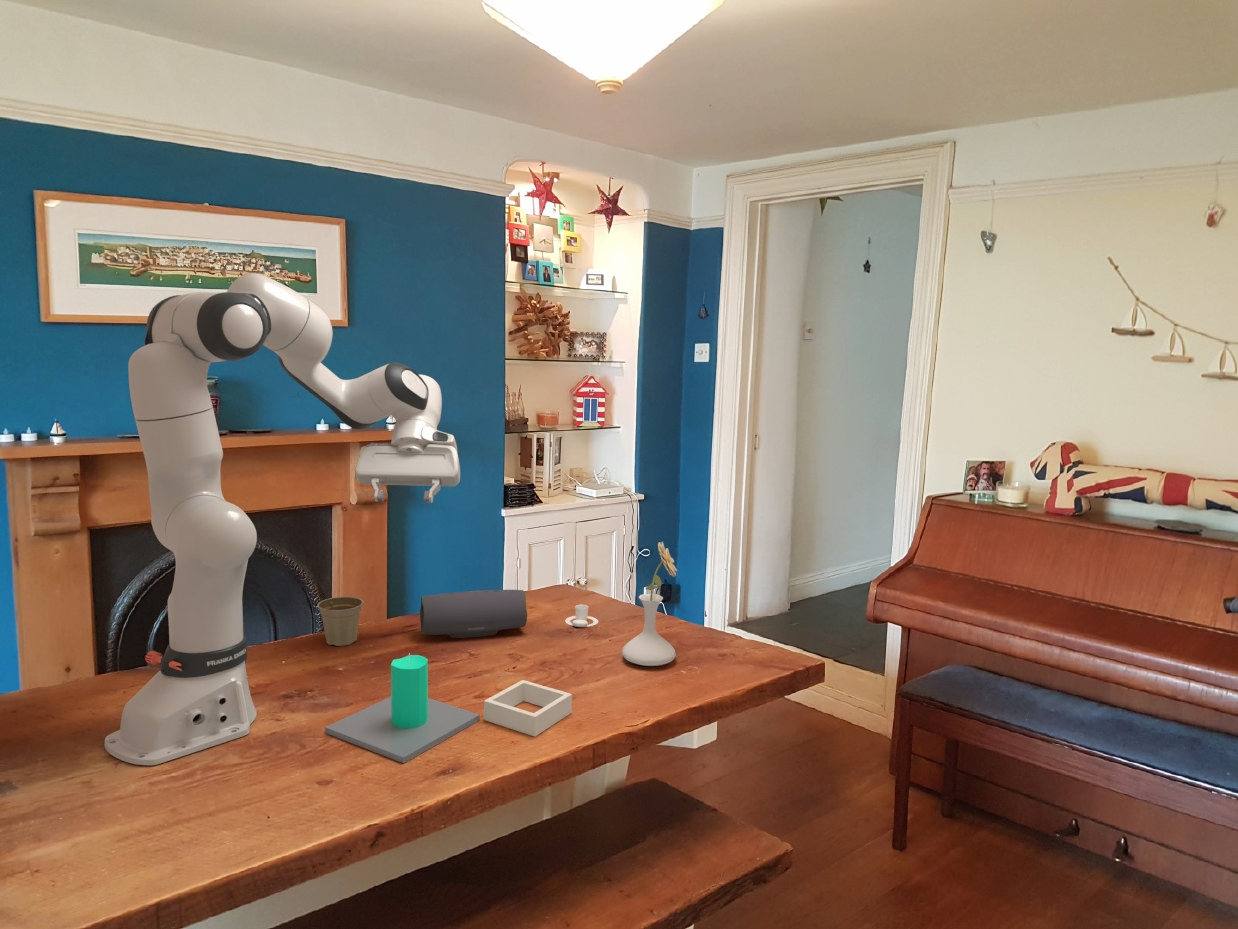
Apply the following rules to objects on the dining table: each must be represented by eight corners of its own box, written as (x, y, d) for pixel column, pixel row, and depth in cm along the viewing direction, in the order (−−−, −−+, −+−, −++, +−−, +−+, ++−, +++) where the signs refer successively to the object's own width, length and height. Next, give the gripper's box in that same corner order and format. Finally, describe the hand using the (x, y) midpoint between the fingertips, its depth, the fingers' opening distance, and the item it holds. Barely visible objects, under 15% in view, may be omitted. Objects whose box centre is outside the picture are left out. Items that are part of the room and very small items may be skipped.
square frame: (534, 736, 137) (535, 717, 136) (483, 720, 142) (484, 700, 142) (571, 712, 146) (572, 694, 146) (522, 697, 152) (522, 679, 151)
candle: (427, 711, 143) (426, 645, 141) (428, 726, 137) (428, 658, 135) (391, 714, 141) (390, 647, 139) (391, 730, 135) (390, 661, 134)
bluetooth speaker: (519, 623, 192) (519, 582, 191) (527, 637, 183) (528, 594, 182) (419, 631, 185) (419, 588, 183) (423, 646, 176) (423, 601, 175)
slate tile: (403, 763, 127) (403, 757, 127) (325, 732, 136) (324, 727, 136) (479, 720, 142) (479, 714, 142) (404, 695, 151) (404, 690, 151)
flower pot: (334, 653, 170) (334, 613, 169) (309, 642, 176) (308, 603, 175) (372, 641, 178) (372, 602, 177) (347, 631, 184) (346, 593, 182)
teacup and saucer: (583, 632, 189) (584, 615, 188) (556, 625, 193) (556, 608, 192) (604, 622, 196) (605, 605, 195) (577, 615, 200) (578, 599, 200)
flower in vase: (659, 675, 164) (664, 554, 160) (611, 662, 170) (614, 545, 166) (688, 656, 175) (693, 542, 171) (642, 644, 181) (646, 534, 177)
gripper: (358, 433, 163) (345, 490, 155) (461, 435, 164) (453, 492, 156) (365, 452, 168) (352, 508, 160) (464, 454, 169) (457, 510, 161)
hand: (403, 500), depth 158 cm, fingers open, 8 cm apart
